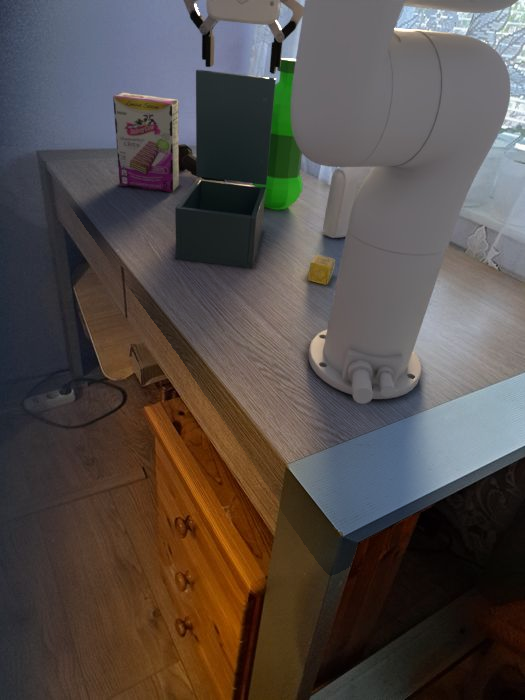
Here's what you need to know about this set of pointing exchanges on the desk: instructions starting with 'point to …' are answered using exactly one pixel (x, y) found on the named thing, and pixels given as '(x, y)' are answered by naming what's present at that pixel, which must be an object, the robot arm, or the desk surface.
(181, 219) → the dark green open box
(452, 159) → the robot arm
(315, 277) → the alphabet block
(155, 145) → the candy bar box
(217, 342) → the desk surface
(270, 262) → the desk surface
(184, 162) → the microphone
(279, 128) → the plastic bottle
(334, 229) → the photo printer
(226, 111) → the lid
